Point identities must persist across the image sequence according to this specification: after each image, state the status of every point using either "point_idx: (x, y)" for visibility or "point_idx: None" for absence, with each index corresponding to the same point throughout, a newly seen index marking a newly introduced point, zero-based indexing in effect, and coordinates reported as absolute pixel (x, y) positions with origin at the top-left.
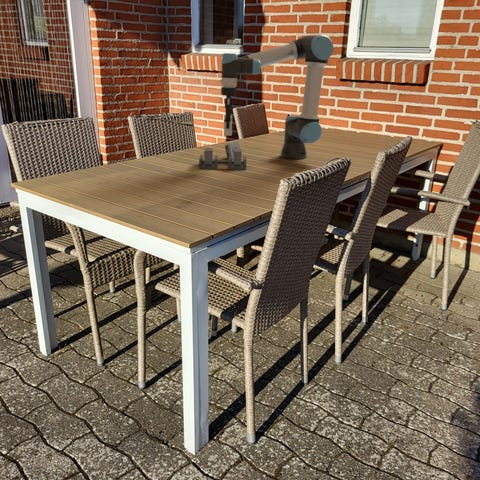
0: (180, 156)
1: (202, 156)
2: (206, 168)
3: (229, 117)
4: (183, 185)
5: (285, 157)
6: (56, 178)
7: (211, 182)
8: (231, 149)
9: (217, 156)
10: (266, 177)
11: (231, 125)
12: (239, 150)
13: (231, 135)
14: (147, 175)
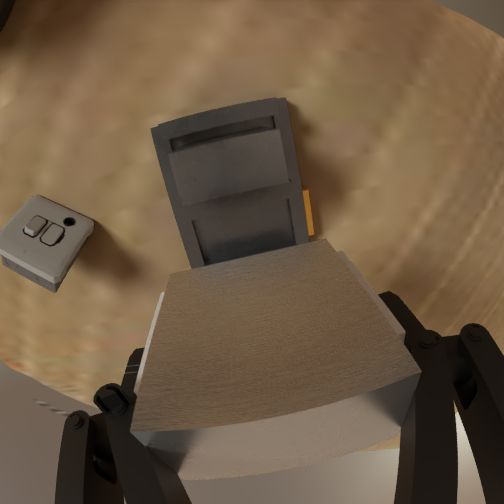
0: None
1: None
2: None
3: (495, 360)
4: (483, 267)
5: (3, 23)
6: (399, 440)
7: (470, 206)
8: (63, 247)
9: None
10: (389, 16)
11: (367, 297)
12: (244, 150)
13: (326, 241)
14: None
